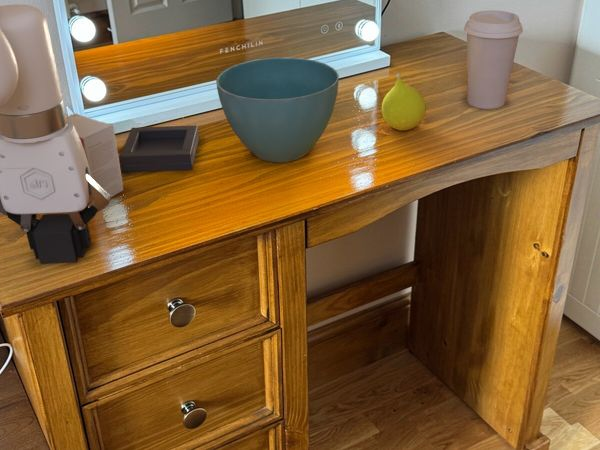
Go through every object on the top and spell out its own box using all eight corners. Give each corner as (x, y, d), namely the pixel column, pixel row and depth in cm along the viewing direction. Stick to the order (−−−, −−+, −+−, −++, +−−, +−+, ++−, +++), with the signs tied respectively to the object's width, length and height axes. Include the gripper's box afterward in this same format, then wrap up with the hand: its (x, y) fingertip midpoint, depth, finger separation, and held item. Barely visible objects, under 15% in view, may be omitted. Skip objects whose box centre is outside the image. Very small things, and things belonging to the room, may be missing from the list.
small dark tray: (192, 170, 115) (190, 153, 114) (122, 172, 115) (119, 156, 114) (199, 140, 125) (197, 125, 123) (134, 142, 125) (131, 127, 123)
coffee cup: (519, 111, 130) (530, 24, 123) (463, 113, 131) (470, 26, 123) (507, 91, 139) (516, 8, 131) (454, 92, 139) (460, 9, 131)
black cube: (76, 262, 95) (69, 231, 92) (40, 263, 95) (32, 233, 92) (84, 243, 99) (78, 213, 96) (49, 244, 99) (42, 214, 96)
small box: (57, 192, 111) (43, 125, 105) (87, 177, 114) (74, 111, 109) (96, 207, 107) (82, 138, 101) (125, 190, 110) (113, 123, 105)
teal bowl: (214, 135, 126) (207, 64, 120) (321, 121, 130) (319, 51, 123) (234, 185, 111) (227, 106, 104) (354, 167, 114) (354, 90, 108)
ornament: (390, 117, 130) (392, 60, 125) (430, 123, 127) (434, 66, 122) (374, 133, 125) (375, 74, 120) (415, 140, 122) (418, 80, 117)
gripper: (-55, 134, 84) (-14, 271, 93) (99, 129, 84) (124, 266, 93) (-31, 108, 90) (5, 238, 100) (112, 103, 90) (134, 234, 100)
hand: (62, 250), depth 96 cm, fingers closed on black cube, 4 cm apart
